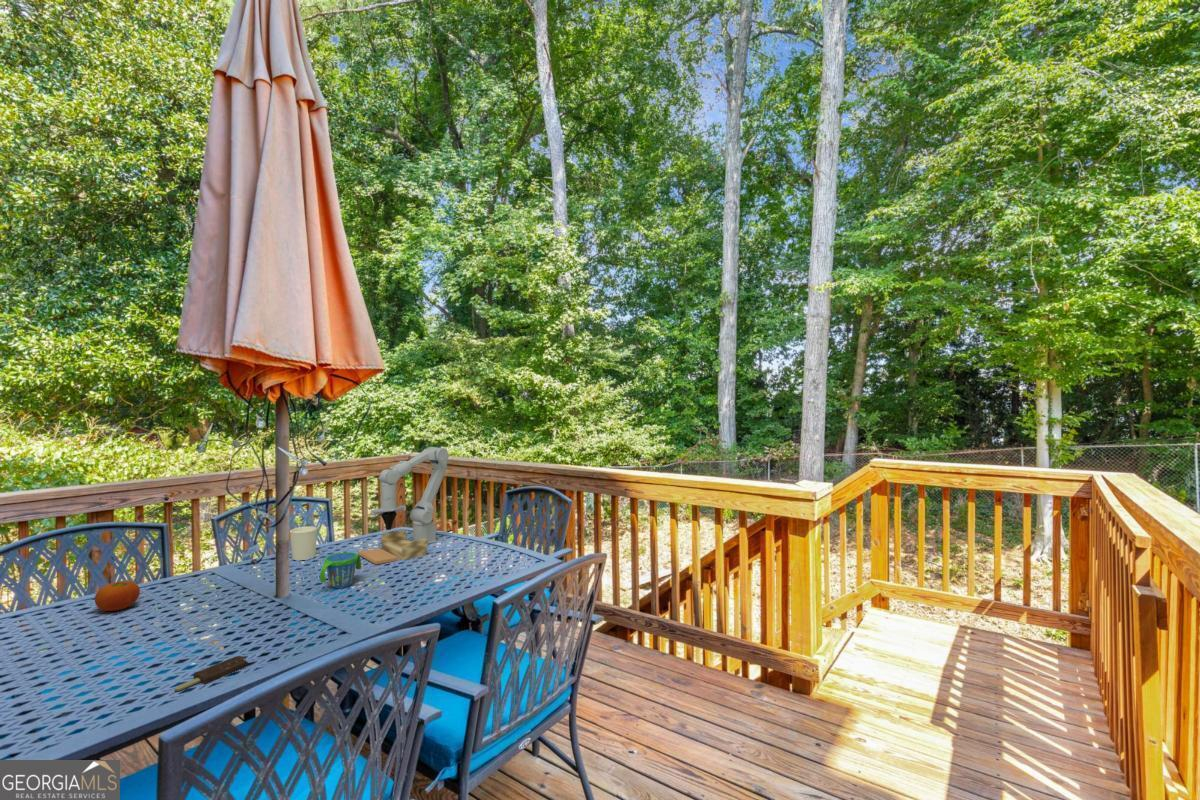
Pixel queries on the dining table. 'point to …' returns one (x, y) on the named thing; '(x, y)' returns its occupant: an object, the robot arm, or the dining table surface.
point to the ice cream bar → (215, 672)
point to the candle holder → (303, 542)
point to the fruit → (117, 595)
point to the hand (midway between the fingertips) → (388, 529)
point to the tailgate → (377, 556)
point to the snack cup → (340, 569)
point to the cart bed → (403, 545)
